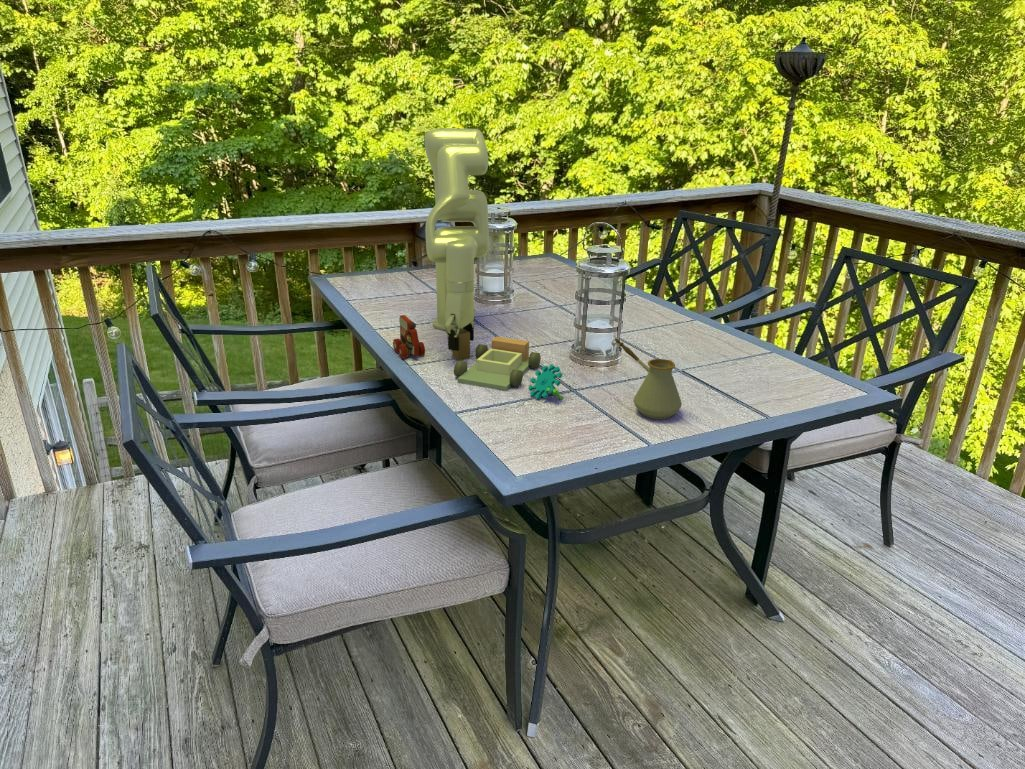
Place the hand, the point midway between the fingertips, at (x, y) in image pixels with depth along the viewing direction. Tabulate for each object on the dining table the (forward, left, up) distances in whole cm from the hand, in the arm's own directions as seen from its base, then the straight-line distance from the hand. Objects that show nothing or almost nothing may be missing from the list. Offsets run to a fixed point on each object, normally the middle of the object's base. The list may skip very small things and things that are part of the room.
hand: (461, 344), depth 208 cm
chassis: (+5, +14, -4) cm, 15 cm away
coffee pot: (+11, +55, -4) cm, 56 cm away
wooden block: (-1, 0, -4) cm, 4 cm away
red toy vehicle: (+3, -15, -4) cm, 16 cm away
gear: (+15, +31, -4) cm, 35 cm away
